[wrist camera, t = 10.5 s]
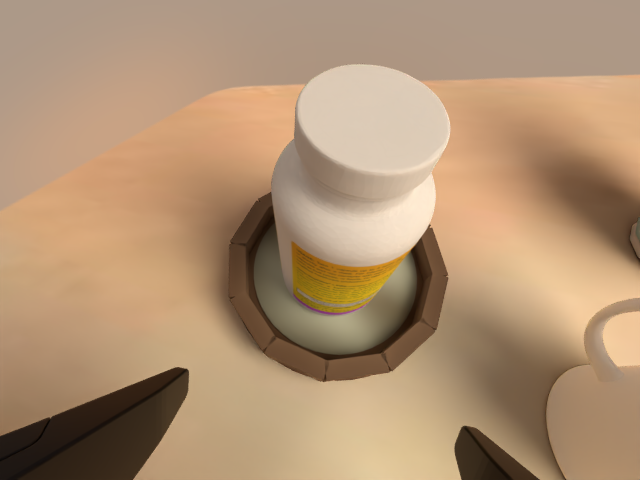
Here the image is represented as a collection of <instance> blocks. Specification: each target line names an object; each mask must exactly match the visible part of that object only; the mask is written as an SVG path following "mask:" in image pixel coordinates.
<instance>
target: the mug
mask: <svg viewBox="0 0 640 480" xmlns="http://www.w3.org/2000/svg"><path fill="white" fill-rule="evenodd" d="M634 311H640V298H635V299H628V300H624V301H620V302H617V303H614V304H611V305H609V306H607V307H605V308H603V309H602V310H600V311H599V312H598V313H596V314H595V315H594V316H593V317H592V319H591V320H590V321H589V323H588V325H587V327H586V329H585V333H584V346H585V351H586V354H587V357H588V360H589V362H590V364H591V365H581V366H577V367H574V368H572V369H570V370H568V371H566V372H565V373H563V374H562V375H561V376H560V377H559V378H558V379H557V380H556V382H555V383H554V385H553V387H552V389H551V391H550V394H549V397H548V401H547V408H546V423H547V431H548V436H549V440H550V444H551V447H552V450H553V453H554V456H555V458H556V461H557V463H558V465H559V467H560V469H561V471H562V473H563V475H564V476H565V478H566V480H640V365H639V366H622V367H617V366H616V365H615V364H614V363H613V361H612V360H611V358H610V357H609V355H608V353H607V351H606V349H605V346H604V343H603V329H604V326H605V324H606V323H607V322H608V321H609V320H610V319H611V318H612V317H614V316H616V315H619V314H622V313H627V312H634Z"/></svg>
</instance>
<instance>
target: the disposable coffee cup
mask: <svg viewBox="0 0 640 480" xmlns="http://www.w3.org/2000/svg"><path fill="white" fill-rule="evenodd" d="M630 241H631V243H632V245H633V247H634V250H635V252H636V254H637V256H638V257H639V258H640V217H639V218H638V221H637V222H636V223H635V224H634V225H632V229H631V234H630Z"/></svg>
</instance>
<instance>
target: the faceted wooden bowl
mask: <svg viewBox="0 0 640 480" xmlns="http://www.w3.org/2000/svg"><path fill="white" fill-rule="evenodd" d="M258 200H259V201H256V202H255V204H254V205H253V207H252V208H251V210H250V212H249V213H248V215H247V216H246V218H245V219H244V221H243V222H242V224H241V226H240V227H239V229H238V230H237V232H236V233H235V235H234V236H233V238H232V240H231V241H230V242H231V244H230V247H229V298H230V301H231V303H232V304H233V306H234V308H235V309H236V311H237V312H238V314H239V315H240V317H241V319H242V320H243V322H244V324H245V326H246V328H247V330H248V331H249V333H250V334H251V335H252V337H253V338H254V339H255V341H256V342H257V344H258V345H259V347H260V349H261V350H262V351H263V352H264V354H265V355H267V356H268V357H269V358H272V359H274V360H276V361H278V362H279V363H280V364H282V365H284V366H286V367H288V368H289V369H291V370H293V371H295V372H298V373H301V374H303V375H306V376H309V377H312V378H314V379H316V380H318V381H323V382H326V381H333V380H335V381H339V380H353V379H358V378H363V377H367V376H370V375H376V374H383V373H388V372H389V371H393V370H394V369H395V368H396V367H397V366H398V365H400V364H401V363H402V362H403V361H404V360H405V359H406V358H407V357H408V356H409V355H410V354H412V353H413V352H414V351H415V350H416V349H417V348H418V347H419V346H420V345H421V344H422V343H423V342H425V341H426V340H427V339H428V338H429V337H430V336H431V335H432V334H433V333H434V332H435V331H434V330H436V329H437V325H438V321H439V317H440V312H441V308H442V303H443V299H444V294H445V290H446V285H447V281H448V277H446V276H447V275H448V273H447V270H446V267H445V264H444V261H443V258H442V255H441V252H440V249H439V246H438V243H437V241H436V238H435V235H434V232H433V229H432V228H429V227H430V226H431V225H430V224H429V225H428V228H427V229H426V231H425V232H424V234H423V235H422V236H421V238H420V239H419V241H418V242H417V243H416V245H415V246H414V247H413V248H412V249H411V251H410V252H409V253H408V254H407V256H406V257H405V258H404V259H403V261H402V262H401V263H400V264H399V266H398V267H397V268H396V270H395V271H394V272H393V273H392V275H391V276H390V277H389V279H388V280H387V281H386V282H385V284H384V285H383V286H382V287H381V289H380V290H379V291H378V293H377V294H376V295H375V296H374V297H373V299H372V300H371V301H370V302H369V303H368V304H367V305H366V306H364V307H363V308H361V309H360V310H358V311H356V312H354V313H351V314H349V315H345V316H337V317H330V316H323V315H319V314H316V313H313V312H311V311H309V310H307V309H306V308H304V307H303V306H301V305H300V304H299V303H298V302H297V301H296V300H295V299H294V298H293V297H292V295H291V294H290V292H289V291H288V289H287V287H286V285H285V282H284V278H283V273H282V268H281V260H280V252H279V245H278V237H277V231H276V223H275V217H274V210H273V202H272V194H271V192H270V193H268V194H267V195H265V196H263V197H261V198H259V199H258Z"/></svg>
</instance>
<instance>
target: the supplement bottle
mask: <svg viewBox="0 0 640 480" xmlns="http://www.w3.org/2000/svg"><path fill="white" fill-rule="evenodd" d="M449 136H450V121H449V117H448V114H447V112H446V109H445V107H444V105H443V103H442V102H441V101H440V99H439V98H438V97H437V96H436V94H435V93H434V92H433V91H432V90H430V89H429V88H428V87H427V86H426V85H424V84H423V83H421V82H420V81H418V80H417V79H414V78H413V77H411V76H409V75H407V74H405V73H403V72H400V71H397V70H394V69H391V68H387V67H383V66H377V65H368V64H354V65H345V66H339V67H335V68H332V69H329V70H327V71H325V72H322V73H321V74H319V75H317V76H316V77H314V78H313V79H311V80H310V81H309V82H308V83H307V84H306V85H305V87H304V88H303V89H302V91H301V93H300V94H299V97H298V99H297V103H296V108H295V131H294V139H293V140H292V141H291V142H290V143H289V144H288V145H287V146H286V147H285V149H284V150H283V152H282V153H281V155H280V157H279V159H278V161H277V163H276V165H275V168H274V172H273V176H272V183H271V194H272V202H273V210H274V217H275V223H276V231H277V237H278V245H279V252H280V260H281V268H282V273H283V278H284V282H285V285H286V287H287V289H288V291H289V292H290V294H291V295H292V297H293V298H294V299H295V300H296V301H297V302H298V303H299V304H300V305H301V306H303V307H304V308H306V309H307V310H309V311H311V312H313V313H316V314H319V315H323V316H330V317H337V316H345V315H349V314H351V313H354V312H356V311H358V310H360V309H361V308H363V307H364V306H366V305H367V304H368V303H369V302H370V301H371V300H372V299H373V297H374V296H375V295H376V294H377V293H378V291H379V290H380V289H381V287H382V286H383V285H384V284H385V282H386V281H387V280H388V279H389V277H390V276H391V275H392V273H393V272H394V271H395V270H396V268H397V267H398V266H399V264H400V263H401V262H402V261H403V259H404V258H405V257H406V256H407V254H408V253H409V252H410V251H411V249H412V248H413V247H414V246H415V245H416V243H417V242H418V241H419V239H420V238H421V236H422V235H423V234H424V232H425V231H426V229H427V228H428V225H429V223H430V221H431V219H432V216H433V213H434V208H435V201H436V191H435V184H434V180H433V176H432V173H431V172H432V170H433V169H434V167H435V165H436V164H437V162H438V160H439V159H440V157H441V155H442V153H443V152H444V150H445V148H446V146H447V143H448V140H449Z"/></svg>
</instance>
